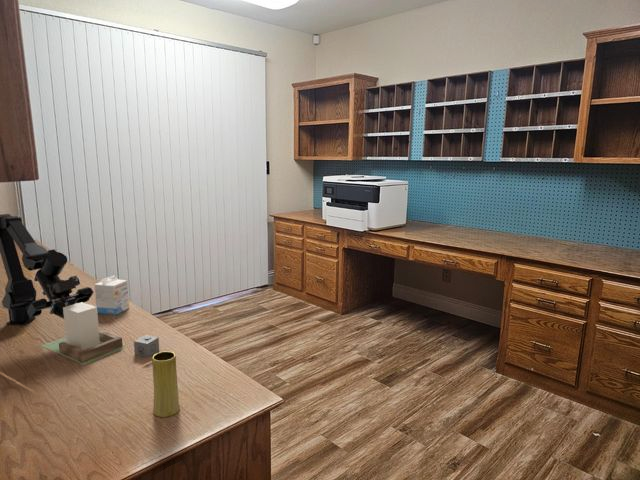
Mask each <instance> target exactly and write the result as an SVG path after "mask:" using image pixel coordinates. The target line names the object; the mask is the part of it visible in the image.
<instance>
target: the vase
mask: <svg viewBox="0 0 640 480" xmlns="http://www.w3.org/2000/svg"><path fill="white" fill-rule="evenodd" d="M151 363H152V378H153V379H152V381H153V382H152V383H153V408H152V412H153V415H155V416H156V417H158V418H159V417H160V418H167V417H171V416H173V415H176V413H178V412H179V411H180V407H181V406H180V402H179V399H180V398H179V385H178V375H177V373H178V372H177V371H178V370H177V356H176V353H175V352H174V351H171V350H170V351H169V350H167V351H166V350H164V351H160V352H159V351H158V352H156V353H155V354H153V355H152V357H151Z"/></svg>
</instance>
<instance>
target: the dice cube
mask: <svg viewBox="0 0 640 480" xmlns="http://www.w3.org/2000/svg"><path fill="white" fill-rule="evenodd" d="M159 340H160V339H159V337H158V336H153V335H147V334H145V335H142V336H141V337H139V338H137V339H135V340H134V341H133V348H134V355H135V356H139V357H144V358H149V357H151V356H153V355H155V354H156V353H159V351H160V341H159Z"/></svg>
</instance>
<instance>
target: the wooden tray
mask: <svg viewBox="0 0 640 480" xmlns="http://www.w3.org/2000/svg"><path fill="white" fill-rule="evenodd" d="M99 338H100V341H101V342H104V343H101V344H99V345H96V346H93V347H91V348H88V349H86V350H82V349H80V348H78V347H75V346H73V345H71V344H68V343H66V342H61V343H59V351H60V353H62V354H64V355H66V356H69V357H71V358H73V359H75V360H77V361H80V362H82V363H84V362H86V361H89V360H91V359H93V358H96V357H98V356H101V355H103V354H106V353H108V352H111V351H113V350H115V349H118V348H120V347H123V346H124V345H123V337H121V336H119V335H116V334H114V333H111V332H108V331H105V330H103V329H100V328H99Z"/></svg>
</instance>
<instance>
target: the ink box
mask: <svg viewBox="0 0 640 480" xmlns="http://www.w3.org/2000/svg"><path fill="white" fill-rule="evenodd" d="M94 294H95V307H97V314H99V313H101V314H103V315H114V316H117V315H118V314H121V313H123V312H125V311H126V310H128V309H129V308H130V301H129V300H130V299H129V287H128V280H126V279H119V278H118V277H117V276H116V275H110V276H108V277H105V278H102V279H100V281H99V282H97V283H95V284H94Z"/></svg>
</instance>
